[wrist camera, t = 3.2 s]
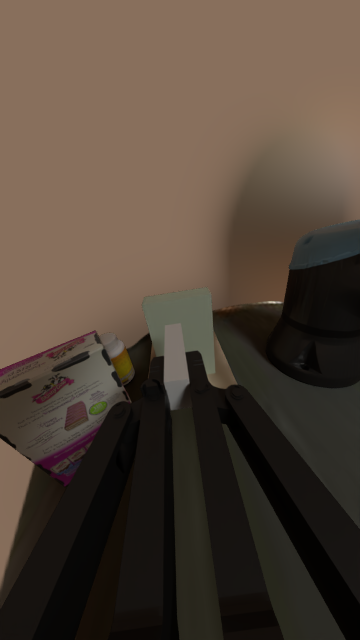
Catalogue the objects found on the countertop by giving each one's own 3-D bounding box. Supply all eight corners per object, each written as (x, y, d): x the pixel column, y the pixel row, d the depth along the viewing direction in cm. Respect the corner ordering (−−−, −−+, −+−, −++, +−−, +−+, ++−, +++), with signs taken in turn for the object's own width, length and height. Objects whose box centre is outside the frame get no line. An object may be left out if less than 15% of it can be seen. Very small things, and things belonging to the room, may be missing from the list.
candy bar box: (133, 405, 30) (97, 327, 21) (144, 429, 26) (106, 346, 18) (61, 452, 25) (-21, 374, 17) (63, 489, 21) (-43, 412, 13)
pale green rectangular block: (211, 361, 35) (206, 287, 27) (215, 373, 32) (211, 293, 24) (163, 369, 35) (144, 297, 27) (163, 381, 32) (141, 305, 24)
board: (213, 334, 44) (213, 331, 44) (239, 394, 28) (240, 390, 28) (153, 343, 44) (152, 340, 44) (146, 409, 29) (144, 405, 28)
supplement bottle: (139, 367, 38) (125, 329, 32) (129, 389, 33) (111, 348, 28) (116, 367, 39) (99, 330, 33) (103, 388, 34) (81, 349, 29)
